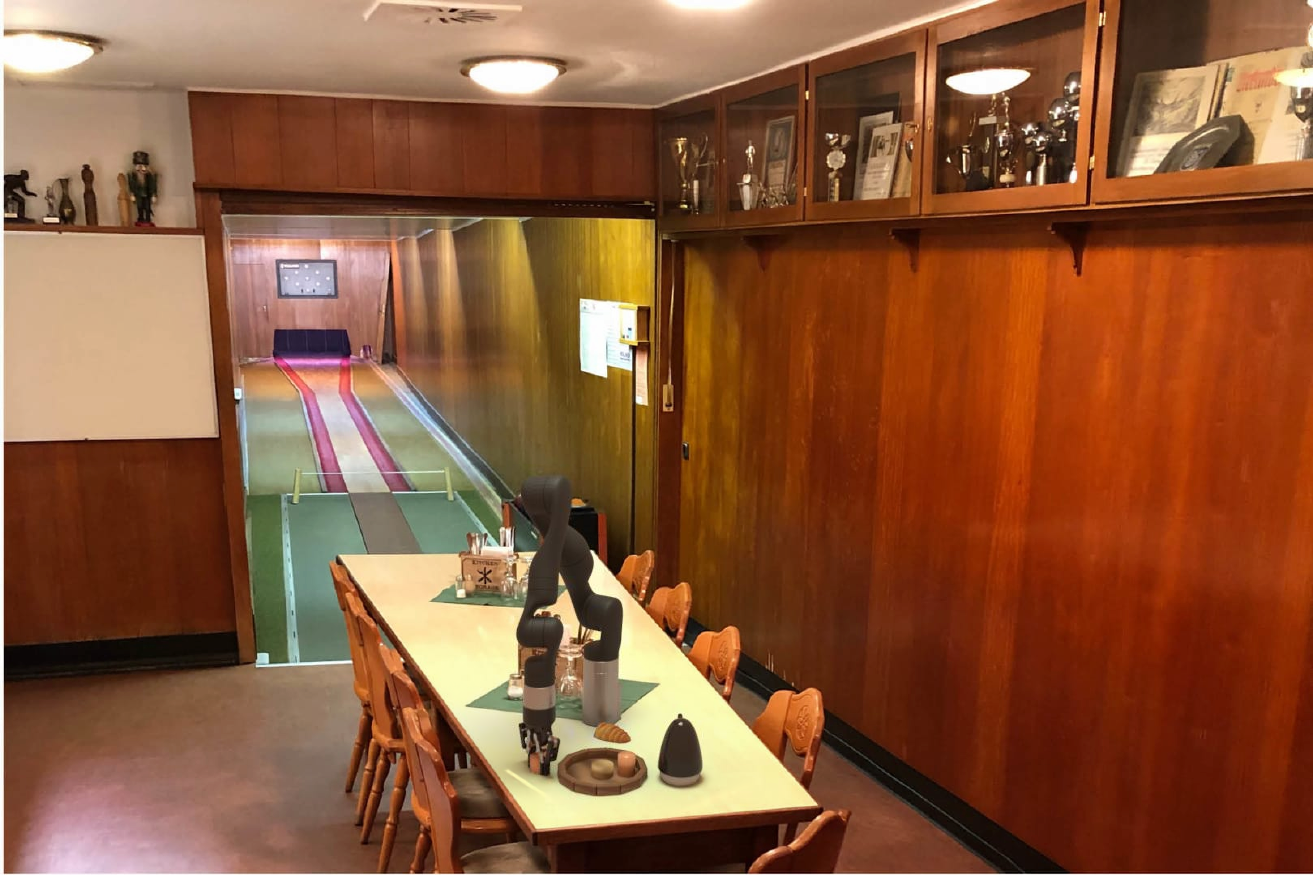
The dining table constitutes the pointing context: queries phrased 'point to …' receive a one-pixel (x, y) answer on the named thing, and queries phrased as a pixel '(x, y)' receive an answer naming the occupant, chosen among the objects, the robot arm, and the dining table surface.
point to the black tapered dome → (680, 754)
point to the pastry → (611, 733)
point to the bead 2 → (626, 764)
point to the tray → (591, 786)
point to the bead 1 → (535, 762)
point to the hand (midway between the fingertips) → (538, 772)
